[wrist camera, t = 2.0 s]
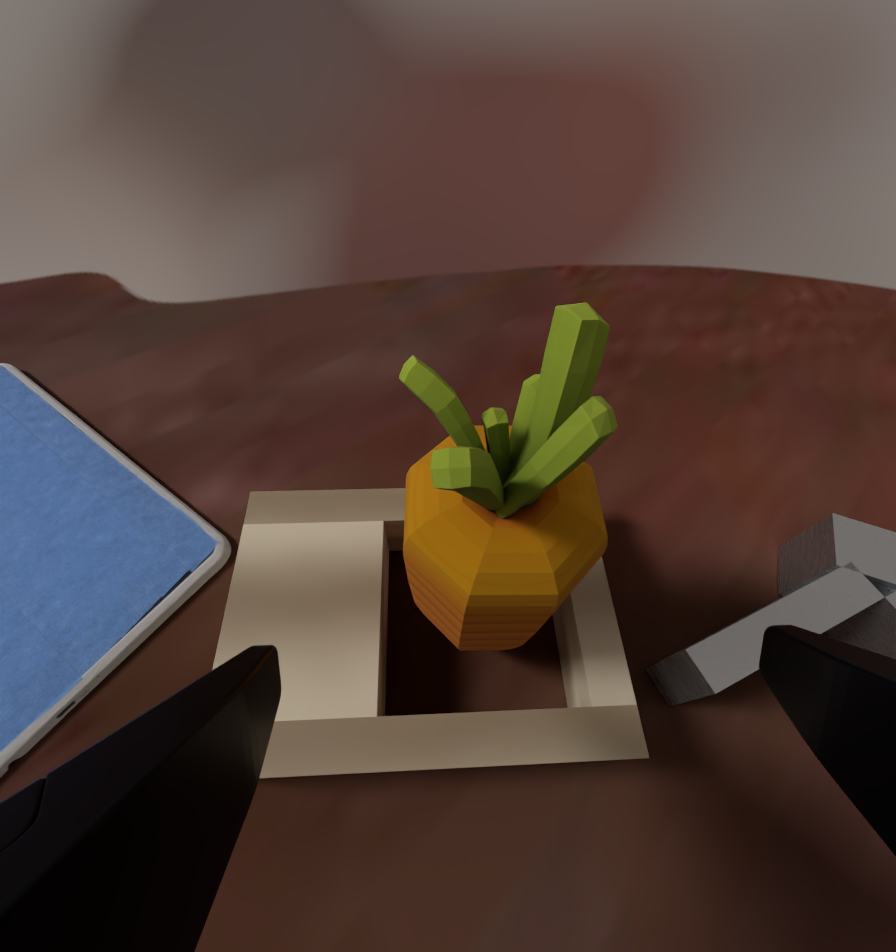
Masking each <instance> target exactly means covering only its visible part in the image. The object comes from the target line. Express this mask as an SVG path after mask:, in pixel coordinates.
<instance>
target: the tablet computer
mask: <svg viewBox="0 0 896 952" xmlns="http://www.w3.org/2000/svg"><path fill="white" fill-rule="evenodd" d="M230 554H231V545H230V543H229V541H228V540H227V538H226V537H225V536H224V535H223V534H221V533H220V532H219V531H218V530H217V529H215V528H214V527H213V526H212V525H210V524H209V523H208V522H207V521H206V520H204V519H203V518H202V517H201V516H199V515H198V514H197V513H196V512H194V511H193V510H192V509H191V508H190V507H188V506H187V505H186V504H185V503H183V502H182V501H181V500H180V499H178V498H177V497H176V496H175V495H173V494H172V493H171V492H170V491H168V490H167V489H166V488H165V487H163V486H162V485H161V484H160V483H158V482H157V481H156V480H155V479H153V478H152V477H151V476H150V475H149V474H147V473H146V472H145V471H144V470H142V469H141V468H140V467H139V466H138V465H136V464H135V463H134V462H132V461H131V460H130V459H129V458H128V457H126V456H125V455H124V454H123V453H122V452H120V451H119V450H118V449H117V448H115V447H114V446H113V445H112V444H110V443H109V442H108V441H107V440H105V439H104V438H103V437H102V436H101V435H99V434H98V433H97V432H96V431H94V430H93V429H92V428H91V427H89V426H88V425H87V424H86V423H84V422H83V421H82V420H81V419H80V418H78V417H77V416H76V415H75V414H73V413H72V412H71V411H70V410H68V409H67V408H66V407H65V406H63V405H62V404H61V403H60V402H58V401H57V400H56V399H55V398H53V397H52V396H51V395H49V394H48V393H47V392H46V391H45V390H43V389H42V388H41V387H40V386H38V385H37V384H36V383H35V382H33V381H32V380H31V379H30V378H28V377H27V376H26V375H25V374H23V373H22V372H21V371H20V370H18V369H17V368H15V367H14V366H12V365H10V364H0V777H2V776H3V775H4V774H5V773H6V772H7V771H8V769H9V767H10V765H11V763H13V762H14V761H15V760H16V759H18V758H21V757H22V756H23V755H25V754H26V753H27V752H28V751H29V750H30V749H31V748H32V747H33V746H34V745H35V744H36V743H37V742H38V741H39V740H40V739H41V738H43V737H44V736H45V735H46V734H47V733H48V732H49V731H50V730H51V729H52V728H53V727H54V726H55V725H56V724H57V723H58V722H59V721H60V720H61V719H62V718H64V716H65V715H66V714H67V713H68V712H69V711H70V710H71V709H73V708H74V707H75V706H76V705H77V704H78V703H79V702H80V701H81V700H82V699H83V698H84V697H85V696H86V695H87V694H88V693H90V692H91V691H92V690H93V689H94V688H95V687H96V686H97V685H98V684H99V683H100V682H101V681H102V680H103V679H104V678H105V677H106V676H107V675H109V674H110V673H111V672H112V671H113V670H114V669H115V668H116V667H117V666H118V665H119V664H120V663H121V662H122V661H123V660H124V659H125V658H126V657H127V656H129V655H130V654H131V653H132V652H133V651H134V650H135V649H136V648H137V647H138V646H139V645H140V644H141V643H142V642H143V641H144V640H145V639H146V638H147V637H148V636H150V635H151V634H152V633H153V632H154V631H155V630H156V629H157V628H158V627H159V626H160V625H161V624H162V623H163V622H164V621H165V620H166V619H167V618H168V617H170V616H171V615H172V614H173V613H174V612H175V611H176V610H177V609H178V608H179V607H180V606H181V605H182V604H183V603H184V602H185V601H186V600H188V599H189V598H190V597H191V596H192V595H193V594H194V593H195V592H196V591H197V590H198V589H199V588H200V587H202V586H203V585H204V584H205V583H206V582H207V581H208V580H209V579H210V578H211V577H212V576H213V575H214V574H215V573H216V572H218V571H219V570H220V569H221V568H222V567H223V566H224V564H225V563H226V562H227V560H228V558H229V557H230Z"/></svg>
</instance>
